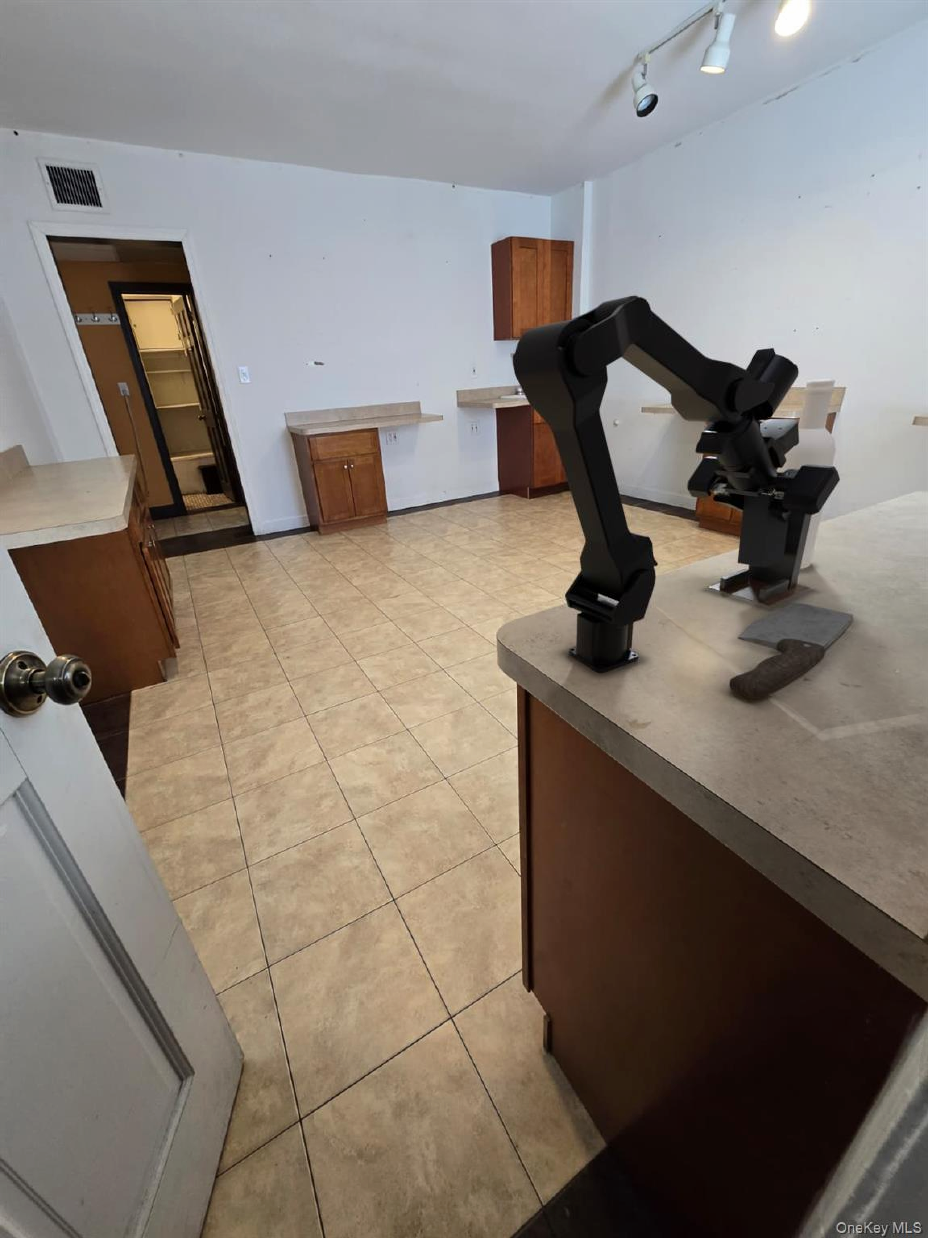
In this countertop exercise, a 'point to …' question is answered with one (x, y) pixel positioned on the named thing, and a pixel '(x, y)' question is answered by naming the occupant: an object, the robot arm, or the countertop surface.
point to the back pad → (761, 533)
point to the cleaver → (789, 645)
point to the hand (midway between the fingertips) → (772, 516)
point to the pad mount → (772, 570)
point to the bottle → (813, 445)
